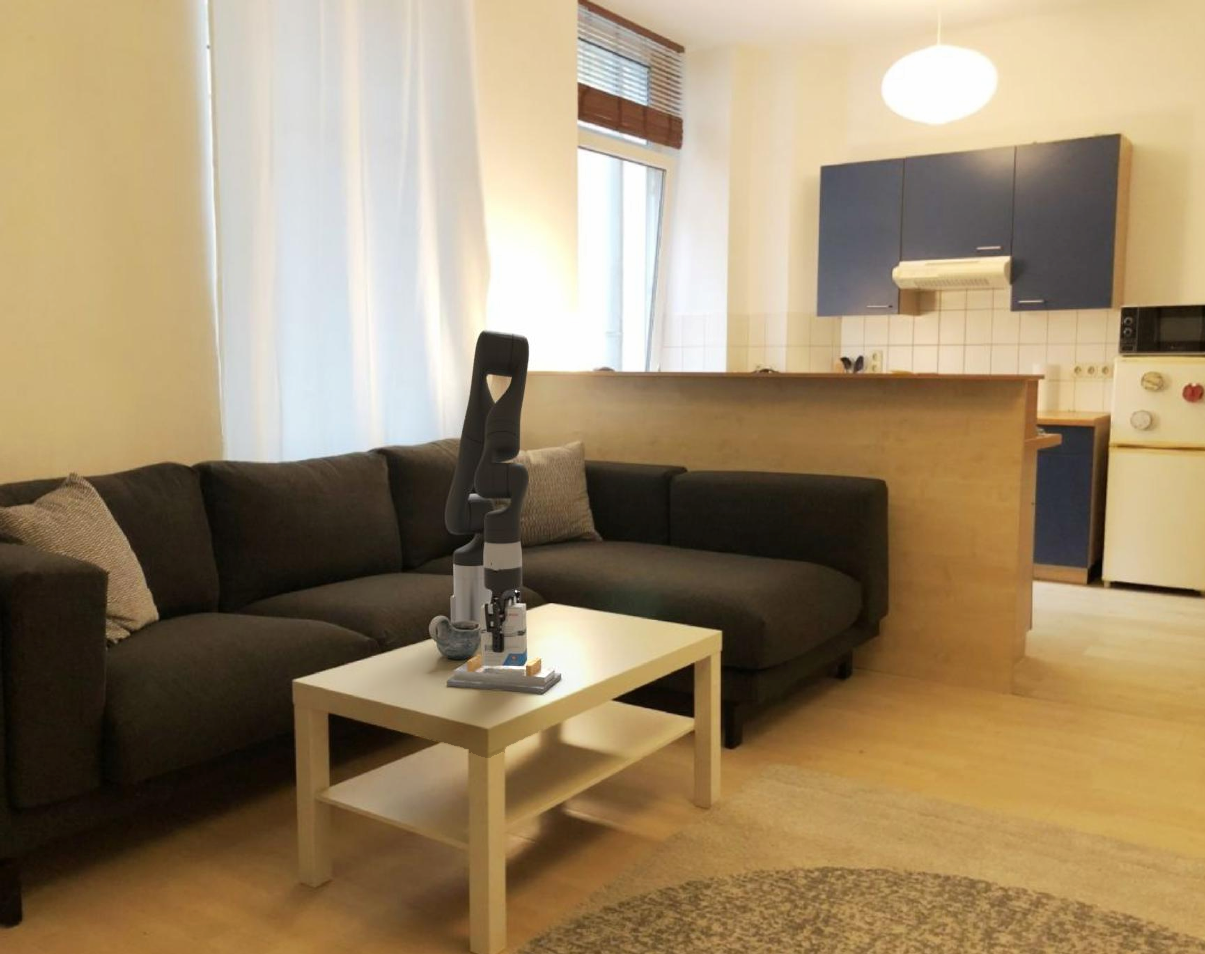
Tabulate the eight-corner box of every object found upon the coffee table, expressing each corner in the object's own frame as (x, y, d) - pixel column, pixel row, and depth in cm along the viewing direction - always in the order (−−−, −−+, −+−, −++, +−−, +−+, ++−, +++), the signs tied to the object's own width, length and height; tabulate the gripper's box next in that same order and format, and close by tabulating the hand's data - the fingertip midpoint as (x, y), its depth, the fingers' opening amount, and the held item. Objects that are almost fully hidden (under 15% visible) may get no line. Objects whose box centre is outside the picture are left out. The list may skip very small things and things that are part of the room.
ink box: (527, 660, 222) (527, 602, 221) (523, 666, 217) (523, 607, 216) (485, 659, 223) (485, 601, 222) (480, 665, 218) (479, 606, 217)
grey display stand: (446, 685, 218) (446, 663, 218) (469, 671, 229) (468, 649, 228) (542, 693, 212) (542, 670, 212) (561, 678, 223) (561, 656, 222)
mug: (490, 654, 242) (489, 609, 241) (456, 668, 231) (455, 621, 230) (453, 649, 246) (452, 605, 246) (418, 662, 235) (417, 616, 235)
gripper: (498, 557, 226) (499, 638, 228) (470, 569, 212) (472, 656, 214) (533, 558, 224) (534, 641, 226) (507, 571, 210) (508, 658, 212)
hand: (504, 647), depth 220 cm, fingers closed on ink box, 5 cm apart
